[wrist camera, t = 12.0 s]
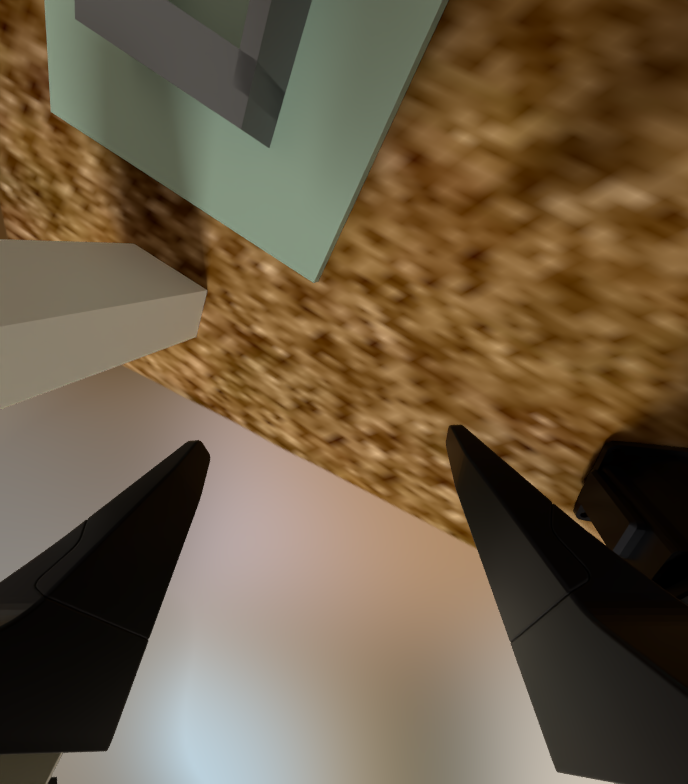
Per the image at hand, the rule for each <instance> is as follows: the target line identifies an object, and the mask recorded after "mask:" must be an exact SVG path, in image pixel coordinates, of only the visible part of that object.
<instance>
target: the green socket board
mask: <svg viewBox="0 0 688 784" xmlns="http://www.w3.org/2000/svg"><path fill="white" fill-rule="evenodd" d="M448 1H449V0H45V16H46V34H47V51H48V69H49V86H50V104H51V112H52V113H54V114H55V115H57V116H58V117H60V118H61V119H63V120H64V121H66V122H67V123H69V124H70V125H72V126H74V127H75V128H77V129H78V130H80V131H81V132H83V133H84V134H86V135H87V136H89V137H90V138H92V139H93V140H95V141H97V142H98V143H100V144H101V145H103V146H104V147H106V148H107V149H109V150H110V151H112V152H113V153H115V154H116V155H118V156H120V157H121V158H123V159H124V160H126V161H127V162H129V163H130V164H132V165H133V166H135V167H136V168H138V169H140V170H141V171H143V172H144V173H146V174H147V175H149V176H150V177H152V178H153V179H155V180H156V181H158V182H159V183H161V184H163V185H164V186H166V187H167V188H169V189H170V190H172V191H173V192H175V193H176V194H178V195H179V196H181V197H183V198H184V199H186V200H187V201H189V202H190V203H192V204H193V205H195V206H196V207H198V208H199V209H201V210H202V211H204V212H206V213H207V214H209V215H210V216H212V217H213V218H215V219H216V220H218V221H219V222H221V223H222V224H224V225H226V226H227V227H229V228H230V229H232V230H233V231H235V232H236V233H238V234H239V235H241V236H242V237H244V238H245V239H247V240H249V241H250V242H252V243H253V244H255V245H256V246H258V247H259V248H261V249H262V250H264V251H265V252H267V253H268V254H270V255H272V256H273V257H275V258H276V259H278V260H279V261H281V262H282V263H284V264H285V265H287V266H288V267H290V268H292V269H293V270H295V271H296V272H298V273H299V274H301V275H302V276H304V277H305V278H307V279H308V280H310V281H311V282H313V283H315V282H318V281H319V279H320V277H321V274H322V272H323V270H324V268H325V266H326V264H327V261H328V259H329V257H330V255H331V253H332V251H333V249H334V246H335V244H336V242H337V240H338V238H339V236H340V233H341V231H342V229H343V227H344V225H345V223H346V220H347V218H348V216H349V214H350V212H351V210H352V208H353V205H354V203H355V201H356V199H357V197H358V195H359V192H360V190H361V188H362V186H363V184H364V182H365V180H366V177H367V175H368V173H369V171H370V169H371V167H372V164H373V162H374V160H375V158H376V156H377V154H378V151H379V149H380V147H381V145H382V143H383V141H384V139H385V136H386V134H387V132H388V130H389V128H390V126H391V123H392V121H393V119H394V117H395V115H396V113H397V111H398V108H399V106H400V104H401V102H402V100H403V98H404V95H405V93H406V91H407V89H408V87H409V85H410V82H411V80H412V78H413V76H414V74H415V72H416V70H417V67H418V65H419V63H420V61H421V59H422V57H423V54H424V52H425V50H426V48H427V46H428V44H429V42H430V39H431V37H432V35H433V33H434V31H435V29H436V26H437V24H438V22H439V20H440V18H441V16H442V13H443V11H444V9H445V7H446V5H447V3H448Z"/></svg>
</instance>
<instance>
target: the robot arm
mask: <svg viewBox="0 0 688 784" xmlns="http://www.w3.org/2000/svg"><path fill="white" fill-rule="evenodd" d="M446 448H447V452H448V457H449V461H450V466H451V470H452V474H453V479H454V483H455V487H456V490H457V494H458V496H459V499H460V502H461V505H462V508H463V511H464V513H465V516H466V519H467V522H468V525H469V527H470V530H471V533H472V536H473V539H474V541H475V544H476V547H477V550H478V552H479V555H480V558H481V561H482V564H483V567H484V569H485V572H486V575H487V578H488V581H489V584H490V586H491V589H492V592H493V595H494V598H495V600H496V603H497V606H498V609H499V612H500V614H501V617H502V620H503V623H504V625H505V628H506V631H507V634H508V637H509V640H510V642H511V646H512V649H513V651H514V654H515V657H516V660H517V663H518V666H519V668H520V671H521V674H522V677H523V679H524V682H525V685H526V688H527V691H528V693H529V696H530V699H531V702H532V705H533V707H534V711H535V713H536V716H537V719H538V721H539V724H540V727H541V730H542V733H543V736H544V739H545V741H546V744H547V747H548V750H549V753H550V756H551V758H552V761H553V763H554V766H555V769H556V771H557V772H560V773H564V774H570V775H576V776H581V777H586V778H591V779H597V780H603V781H608V782H613V783H614V784H688V448H681V447H671V446H661V445H651V444H641V443H631V442H621V441H611V442H608V443H606V444H605V445H604V446H603V448H602V450H601V453H600V455H599V457H598V459H597V461H596V463H595V465H594V467H593V469H592V471H591V472H590V473H589V475H588V477H587V479H586V481H585V484H584V486H583V488H582V490H581V492H580V494H579V496H578V501H577V503H576V505H575V507H574V509H573V512H574V513H575V515H576V517H577V518H578V519H580V520H585V521H591V522H592V523H593V525H594V526H595V528H596V530H597V531H598V533H599V534H600V536H601V538H602V539H603V541H604V543H605V544H606V545H604V544H603V543H602V542H600V541H599V540H598V539H597V538H595V537H594V536H593V535H591V534H590V533H589V532H587V531H586V530H585V529H584V528H583V527H581V526H580V525H579V524H578V523H576V522H575V521H574V520H573V519H572V518H570V517H569V516H568V515H567V514H566V513H564V512H563V511H562V510H561V509H560V508H559V507H557V506H556V505H555V504H552V502H551V501H550V500H549V499H548V498H547V497H546V496H544V495H543V494H542V493H541V492H540V491H539V490H538V489H536V488H535V487H534V486H533V485H532V484H531V483H529V482H528V481H527V480H526V479H525V478H524V477H522V476H521V475H520V474H519V473H518V472H517V471H515V470H514V469H513V468H512V467H511V466H510V465H508V464H507V463H506V462H505V461H504V460H503V459H501V458H500V457H499V456H498V455H497V454H496V453H494V452H493V451H492V450H491V449H490V448H489V447H487V446H486V445H485V444H484V443H483V442H482V441H480V440H479V439H478V438H477V437H476V436H475V435H473V434H472V433H471V432H470V431H469V430H468V429H466V428H465V427H464V426H463V425H450V426H449V428H448V433H447V439H446ZM616 448H618V449H617V450H615V451H613V450H614V449H616ZM209 463H210V454H209V452H208V451H207V449H206V448H205V446H204V445H203V443H202V442H201V441H199V440H195V441H188V442H187V443H185V444H184V445H183V446H181V447H180V448H179V449H177V450H176V451H175V452H174V453H172V454H171V455H170V456H168V457H167V458H166V459H164V460H163V461H162V462H160V463H159V464H158V465H157V466H155V467H154V468H153V469H151V470H150V471H149V472H147V473H146V474H145V475H144V476H142V477H141V478H140V479H138V480H137V481H136V482H135V483H133V484H132V485H131V486H129V487H128V488H127V489H126V490H124V491H123V492H122V493H120V494H119V495H118V496H116V497H115V498H114V499H112V500H111V501H110V502H109V503H107V504H106V505H105V506H103V507H102V508H101V509H100V510H98V511H97V512H96V513H94V514H93V515H92V516H90V517H89V518H88V520H85V521H84V522H83V523H81V524H80V525H79V526H78V527H76V528H75V529H74V530H72V531H71V532H70V533H68V534H67V535H66V536H65V537H63V538H62V539H60V540H59V541H58V542H56V543H55V544H54V545H52V546H51V547H49V548H48V549H47V550H45V551H44V552H42V553H41V554H40V555H38V556H37V557H35V558H34V559H33V560H31V561H30V562H28V563H27V564H26V565H24V566H23V567H21V568H20V569H18V570H17V571H16V572H14V573H13V574H11V575H10V576H8V577H7V578H6V579H4V580H3V581H1V582H0V784H57V777H51V776H52V774H53V772H54V770H55V768H56V766H57V764H58V762H59V760H60V758H61V756H62V754H63V753H68V752H97V751H107V750H108V748H109V746H110V743H111V741H112V739H113V736H114V733H115V730H116V728H117V725H118V722H119V720H120V717H121V714H122V711H123V709H124V706H125V703H126V701H127V698H128V695H129V692H130V690H131V687H132V684H133V681H134V679H135V676H136V673H137V670H138V668H139V665H140V662H141V660H142V657H143V654H144V651H145V649H146V646H147V643H148V639H149V637H150V635H151V632H152V629H153V626H154V624H155V621H156V618H157V616H158V613H159V610H160V607H161V605H162V602H163V599H164V597H165V594H166V591H167V588H168V586H169V583H170V580H171V577H172V575H173V572H174V569H175V566H176V564H177V561H178V558H179V556H180V553H181V550H182V547H183V544H184V542H185V539H186V536H187V534H188V531H189V528H190V526H191V523H192V520H193V517H194V515H195V512H196V509H197V506H198V503H199V501H200V497H201V494H202V490H203V486H204V482H205V478H206V474H207V470H208V467H209Z"/></svg>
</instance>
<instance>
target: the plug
mask: <svg viewBox="0 0 688 784" xmlns="http://www.w3.org/2000/svg"><path fill="white" fill-rule="evenodd" d="M206 294H207V290H206V289H205V288H203V287H201V286H200V285H198V284H197V283H195V282H194V281H192V280H190V279H189V278H187V277H186V276H184V275H183V274H181V273H179V272H178V271H176V270H175V269H173V268H172V267H170V266H168V265H167V264H165V263H164V262H162V261H161V260H159V259H157V258H156V257H154V256H153V255H151V254H150V253H148V252H146V251H145V250H143V249H142V248H140V247H139V246H137V245H135V244H133V243H100V242H67V241H35V240H1V239H0V410H1V409H3V408H6V407H9V406H11V405H14V404H17V403H20V402H22V401H25V400H28V399H30V398H33V397H35V396H38V395H41V394H44V393H46V392H49V391H52V390H55V389H57V388H60V387H62V386H65V385H68V384H71V383H73V382H76V381H79V380H81V379H84V378H87V377H90V376H92V375H95V374H97V373H100V372H103V371H106V370H108V369H111V368H114V367H116V366H119V365H122V364H125V363H127V362H130V361H133V360H135V359H138V358H141V357H143V356H146V355H149V354H151V353H154V352H157V351H160V350H162V349H165V348H168V347H170V346H173V345H176V344H178V343H181V342H184V341H187V340H189V339H192V338H195V337H196V336H197V332H198V327H199V323H200V319H201V315H202V311H203V307H204V302H205V298H206Z"/></svg>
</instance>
